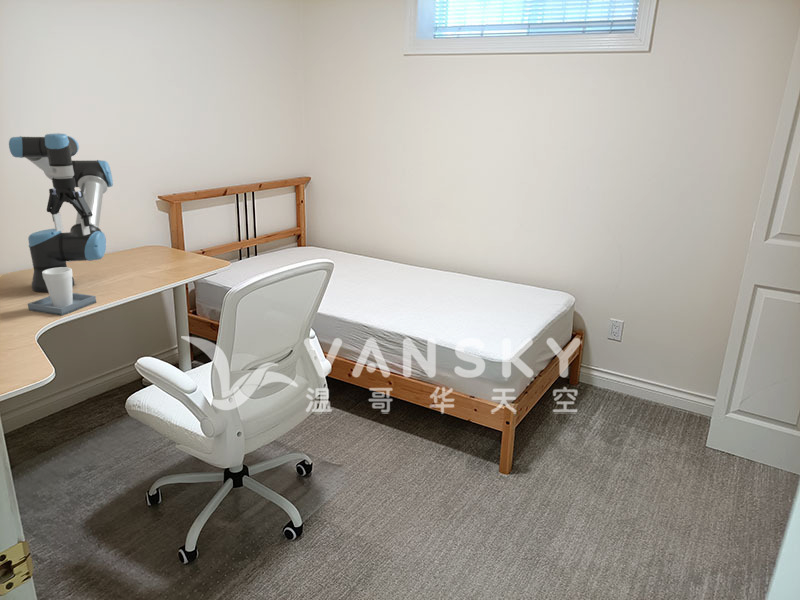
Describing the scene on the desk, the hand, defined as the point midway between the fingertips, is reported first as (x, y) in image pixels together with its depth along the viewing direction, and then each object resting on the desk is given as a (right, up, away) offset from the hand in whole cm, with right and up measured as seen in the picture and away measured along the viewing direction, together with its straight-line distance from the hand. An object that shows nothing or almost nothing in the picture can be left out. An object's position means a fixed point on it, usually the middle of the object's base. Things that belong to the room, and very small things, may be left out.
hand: (73, 232), depth 224 cm
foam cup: (0, -28, -7) cm, 29 cm away
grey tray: (0, -28, -7) cm, 29 cm away
